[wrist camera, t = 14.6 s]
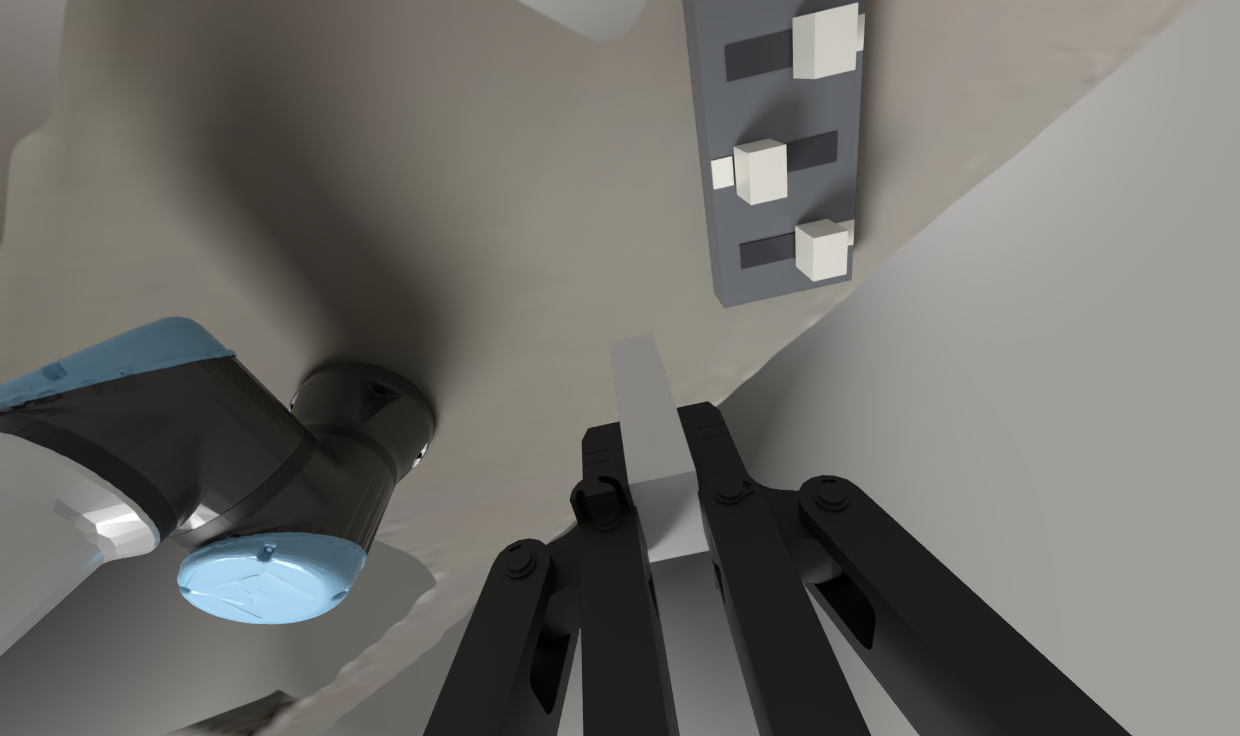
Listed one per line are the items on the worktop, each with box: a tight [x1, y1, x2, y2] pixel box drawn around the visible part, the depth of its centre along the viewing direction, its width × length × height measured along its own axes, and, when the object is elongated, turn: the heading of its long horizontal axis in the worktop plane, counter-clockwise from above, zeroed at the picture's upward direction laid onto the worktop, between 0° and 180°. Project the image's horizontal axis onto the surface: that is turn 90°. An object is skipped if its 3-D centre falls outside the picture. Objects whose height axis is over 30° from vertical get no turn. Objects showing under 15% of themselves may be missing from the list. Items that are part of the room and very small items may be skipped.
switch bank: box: [683, 0, 866, 308], centre depth 44 cm, size 13×26×4 cm, turn 12°
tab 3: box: [795, 219, 848, 281], centre depth 45 cm, size 3×4×4 cm
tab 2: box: [793, 3, 858, 79], centre depth 36 cm, size 3×4×4 cm
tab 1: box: [733, 138, 787, 205], centre depth 41 cm, size 3×4×4 cm
